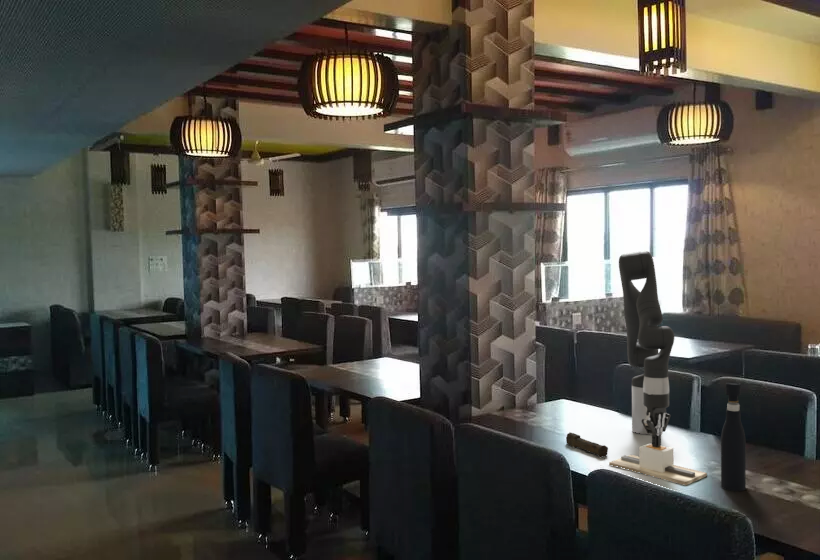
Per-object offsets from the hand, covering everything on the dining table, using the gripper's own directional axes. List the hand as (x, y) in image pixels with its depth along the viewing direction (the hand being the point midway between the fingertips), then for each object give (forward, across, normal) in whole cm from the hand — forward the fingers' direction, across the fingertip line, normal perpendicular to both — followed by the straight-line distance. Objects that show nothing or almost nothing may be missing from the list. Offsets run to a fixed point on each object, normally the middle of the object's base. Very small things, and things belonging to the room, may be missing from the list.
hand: (656, 446), depth 220 cm
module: (+6, 0, 0) cm, 7 cm away
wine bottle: (+8, -2, +23) cm, 24 cm away
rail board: (+8, 0, 0) cm, 8 cm away
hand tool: (+8, -2, -29) cm, 30 cm away
